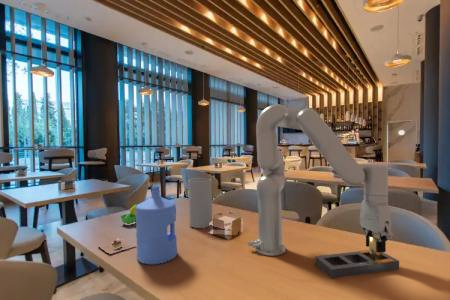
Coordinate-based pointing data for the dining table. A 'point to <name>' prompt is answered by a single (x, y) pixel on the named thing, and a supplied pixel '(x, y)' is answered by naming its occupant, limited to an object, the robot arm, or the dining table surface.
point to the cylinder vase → (200, 202)
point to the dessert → (117, 243)
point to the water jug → (156, 229)
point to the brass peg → (374, 248)
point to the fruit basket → (130, 216)
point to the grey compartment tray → (354, 264)
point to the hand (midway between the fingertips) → (375, 248)
